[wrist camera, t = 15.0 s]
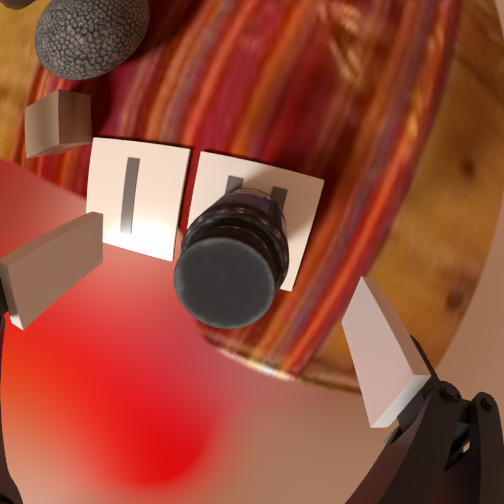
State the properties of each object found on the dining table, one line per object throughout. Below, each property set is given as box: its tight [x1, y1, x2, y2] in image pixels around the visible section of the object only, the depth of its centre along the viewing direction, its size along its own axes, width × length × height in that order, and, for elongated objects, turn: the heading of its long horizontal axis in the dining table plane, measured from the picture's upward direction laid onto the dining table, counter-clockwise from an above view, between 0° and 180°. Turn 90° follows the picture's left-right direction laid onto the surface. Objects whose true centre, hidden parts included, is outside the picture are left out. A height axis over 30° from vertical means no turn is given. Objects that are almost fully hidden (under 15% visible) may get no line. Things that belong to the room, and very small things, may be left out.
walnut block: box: [25, 89, 93, 158], centre depth 19 cm, size 5×5×5 cm
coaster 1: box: [86, 137, 191, 261], centre depth 23 cm, size 10×10×1 cm
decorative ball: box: [35, 0, 150, 80], centre depth 13 cm, size 10×10×10 cm
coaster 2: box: [187, 151, 324, 291], centre depth 23 cm, size 10×10×1 cm
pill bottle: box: [174, 188, 290, 329], centre depth 17 cm, size 6×6×11 cm
